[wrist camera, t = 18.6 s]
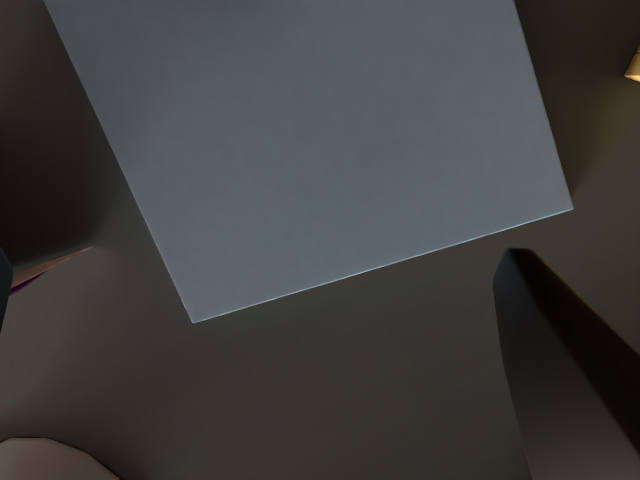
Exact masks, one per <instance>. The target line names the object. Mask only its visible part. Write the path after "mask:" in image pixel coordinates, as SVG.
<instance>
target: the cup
mask: <svg viewBox="0 0 640 480" xmlns="http://www.w3.org/2000/svg"><path fill="white" fill-rule="evenodd" d="M0 480H121V479H120V478H119V477H118V476H116V475H115V474H114V473H112V472H111V471H110V470H109V469H107V468H106V467H105V466H103V465H102V464H101V463H100V462H98V461H97V460H96V459H94V458H93V457H92V456H91V455H89V454H88V453H86V452H84V451H81V450H79V449H76V448H73V447H71V446H68V445H65V444H63V443H60V442H57V441H55V440H52V439H49V438H10V439H8V440H6V441H4V442H2V443H0Z"/></svg>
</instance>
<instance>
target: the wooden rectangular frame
mask: <svg viewBox="0 0 640 480" xmlns="http://www.w3.org/2000/svg"><path fill="white" fill-rule="evenodd" d="M636 53H637V54H635V55H634V57H633V59H632V61H631V63H630V65H629V67H628V69H627V71H626V73H625V77H627V78H630V79H633V80H636V81H639V82H640V45H639V47H638V49H637V52H636Z"/></svg>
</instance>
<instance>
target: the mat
mask: <svg viewBox="0 0 640 480" xmlns="http://www.w3.org/2000/svg"><path fill="white" fill-rule="evenodd" d="M44 3H45V5H46V7H47V9H48V11H49V13H50V16H51V18H52V20H53V22H54V24H55V26H56V28H57V31H58V33H59V35H60V37H61V39H62V41H63V44H64V46H65V48H66V50H67V52H68V54H69V57H70V59H71V61H72V63H73V65H74V67H75V70H76V72H77V74H78V76H79V78H80V80H81V83H82V85H83V87H84V89H85V91H86V93H87V96H88V98H89V100H90V102H91V104H92V106H93V109H94V111H95V113H96V115H97V117H98V119H99V122H100V124H101V126H102V128H103V130H104V132H105V135H106V137H107V139H108V141H109V143H110V145H111V148H112V150H113V152H114V154H115V156H116V158H117V161H118V163H119V165H120V167H121V169H122V171H123V174H124V176H125V178H126V180H127V182H128V184H129V187H130V189H131V191H132V193H133V195H134V197H135V199H136V202H137V204H138V206H139V208H140V210H141V212H142V215H143V217H144V219H145V221H146V223H147V225H148V228H149V230H150V232H151V234H152V236H153V238H154V241H155V243H156V245H157V247H158V249H159V251H160V254H161V256H162V258H163V260H164V262H165V264H166V267H167V269H168V271H169V273H170V275H171V277H172V280H173V282H174V284H175V286H176V288H177V290H178V293H179V295H180V297H181V299H182V301H183V303H184V306H185V308H186V310H187V312H188V314H189V316H190V319H191V321H192V323H196V322H199V321H203V320H206V319H209V318H213V317H216V316H219V315H223V314H226V313H229V312H233V311H236V310H239V309H243V308H246V307H249V306H253V305H256V304H259V303H263V302H266V301H269V300H273V299H276V298H279V297H283V296H286V295H289V294H293V293H296V292H299V291H303V290H306V289H309V288H313V287H316V286H319V285H323V284H326V283H329V282H333V281H336V280H339V279H343V278H346V277H349V276H353V275H356V274H359V273H363V272H366V271H369V270H372V269H376V268H379V267H382V266H386V265H389V264H392V263H396V262H399V261H402V260H406V259H409V258H412V257H416V256H419V255H422V254H426V253H429V252H432V251H436V250H439V249H442V248H446V247H449V246H452V245H456V244H459V243H462V242H466V241H469V240H472V239H476V238H479V237H482V236H486V235H489V234H492V233H496V232H499V231H502V230H506V229H509V228H512V227H516V226H519V225H522V224H526V223H529V222H532V221H536V220H539V219H542V218H546V217H549V216H552V215H556V214H559V213H562V212H566V211H569V210H572V209H573V204H572V201H571V197H570V194H569V190H568V187H567V183H566V180H565V176H564V173H563V169H562V166H561V163H560V159H559V156H558V152H557V149H556V145H555V142H554V138H553V135H552V131H551V128H550V124H549V121H548V117H547V114H546V110H545V107H544V103H543V100H542V96H541V93H540V89H539V86H538V82H537V79H536V75H535V72H534V68H533V65H532V61H531V58H530V54H529V51H528V47H527V44H526V40H525V37H524V33H523V30H522V26H521V23H520V19H519V16H518V12H517V9H516V5H515V2H514V0H44Z"/></svg>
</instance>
